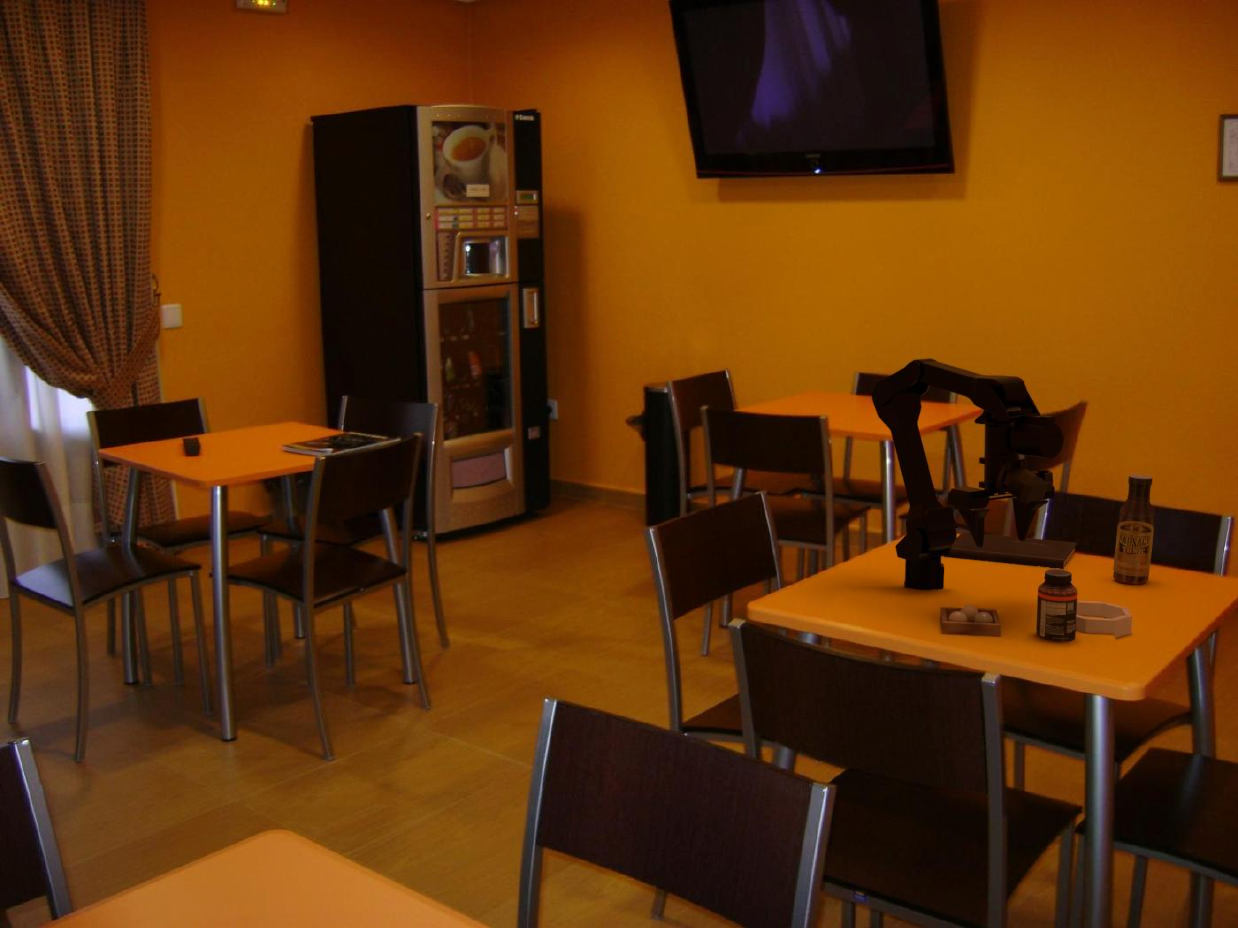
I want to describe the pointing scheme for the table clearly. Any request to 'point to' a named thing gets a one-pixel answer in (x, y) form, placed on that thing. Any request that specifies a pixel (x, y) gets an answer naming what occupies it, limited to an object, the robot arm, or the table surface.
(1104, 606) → the dish
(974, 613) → the pebble
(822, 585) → the table surface
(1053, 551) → the hardcover book
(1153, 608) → the table surface
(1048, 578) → the supplement bottle
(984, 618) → the pebble
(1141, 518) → the sauce bottle
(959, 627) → the pebble tray
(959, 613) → the pebble
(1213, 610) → the table surface
